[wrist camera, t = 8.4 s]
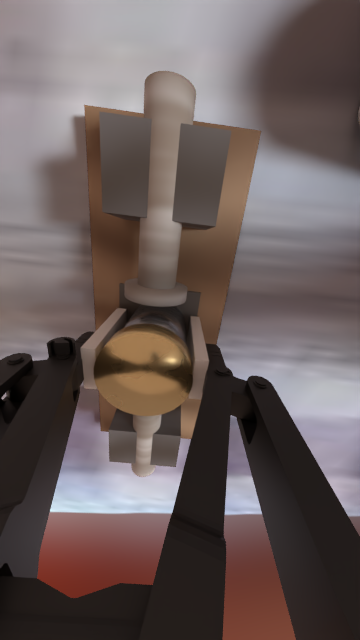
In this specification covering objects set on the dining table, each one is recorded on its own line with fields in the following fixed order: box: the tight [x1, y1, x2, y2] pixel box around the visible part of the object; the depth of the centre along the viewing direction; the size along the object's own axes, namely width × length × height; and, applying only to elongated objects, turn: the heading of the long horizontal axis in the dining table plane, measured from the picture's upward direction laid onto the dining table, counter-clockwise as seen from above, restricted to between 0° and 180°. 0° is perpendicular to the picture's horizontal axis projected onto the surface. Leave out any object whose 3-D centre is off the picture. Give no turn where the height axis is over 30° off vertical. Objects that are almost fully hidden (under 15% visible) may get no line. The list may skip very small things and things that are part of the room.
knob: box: [93, 305, 193, 416], centre depth 14 cm, size 5×5×7 cm
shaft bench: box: [84, 71, 261, 477], centre depth 16 cm, size 28×11×7 cm, turn 173°
